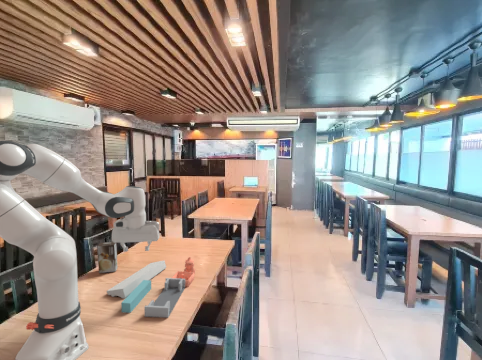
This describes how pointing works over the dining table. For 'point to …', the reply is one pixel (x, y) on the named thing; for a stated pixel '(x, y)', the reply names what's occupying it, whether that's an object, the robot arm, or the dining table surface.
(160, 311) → the end cap cradle
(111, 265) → the coffee box
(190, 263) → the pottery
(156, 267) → the decorative molding
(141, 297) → the slat
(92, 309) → the dining table surface
